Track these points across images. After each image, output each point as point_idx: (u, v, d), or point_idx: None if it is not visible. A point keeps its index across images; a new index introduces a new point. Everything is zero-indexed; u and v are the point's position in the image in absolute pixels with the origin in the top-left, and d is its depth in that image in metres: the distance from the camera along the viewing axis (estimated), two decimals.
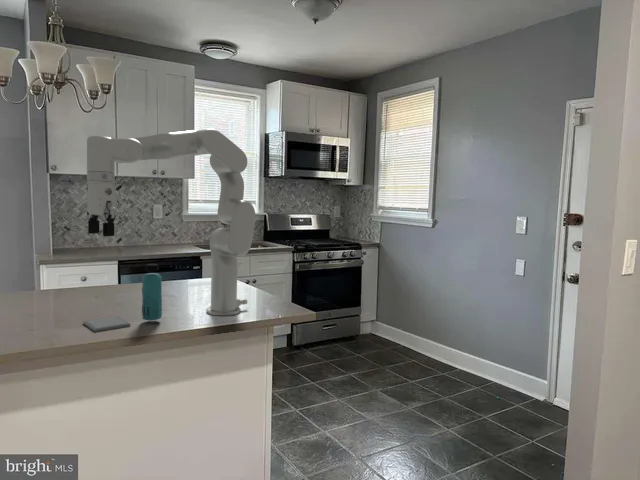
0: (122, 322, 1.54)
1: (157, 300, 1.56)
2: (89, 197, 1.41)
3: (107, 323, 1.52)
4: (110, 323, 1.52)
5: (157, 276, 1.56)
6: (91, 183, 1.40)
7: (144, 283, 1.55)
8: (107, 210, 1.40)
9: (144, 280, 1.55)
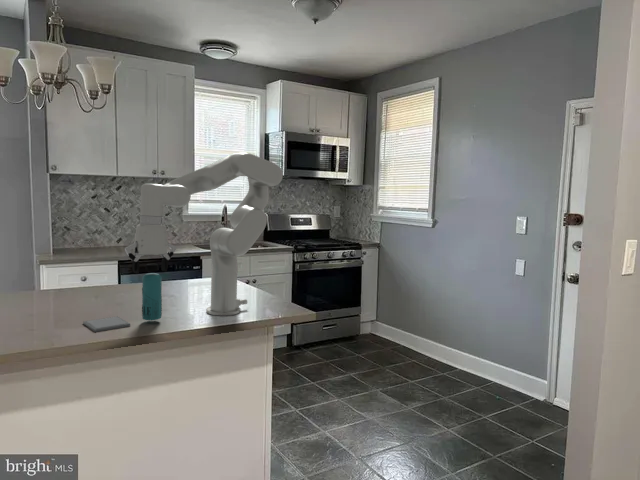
0: (122, 322, 1.54)
1: (157, 300, 1.56)
2: (147, 239, 1.52)
3: (107, 323, 1.52)
4: (110, 323, 1.52)
5: (157, 276, 1.56)
6: (153, 227, 1.53)
7: (144, 283, 1.55)
8: None
9: (144, 280, 1.55)
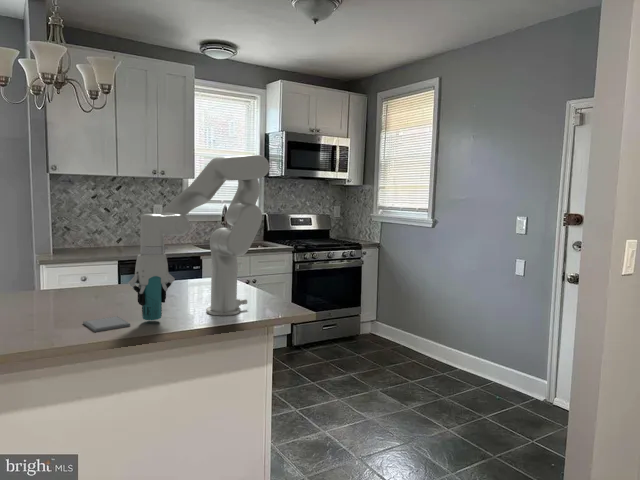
0: (122, 322, 1.54)
1: (157, 300, 1.56)
2: (148, 270, 1.54)
3: (107, 323, 1.52)
4: (110, 323, 1.52)
5: (157, 276, 1.56)
6: (153, 257, 1.54)
7: None
8: None
9: None
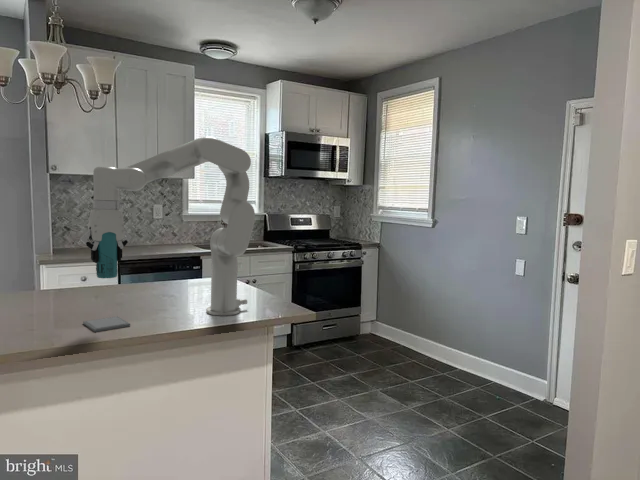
0: (122, 322, 1.54)
1: (112, 257, 1.49)
2: (101, 225, 1.47)
3: (107, 323, 1.52)
4: (110, 323, 1.52)
5: (111, 232, 1.49)
6: (107, 211, 1.47)
7: None
8: None
9: None
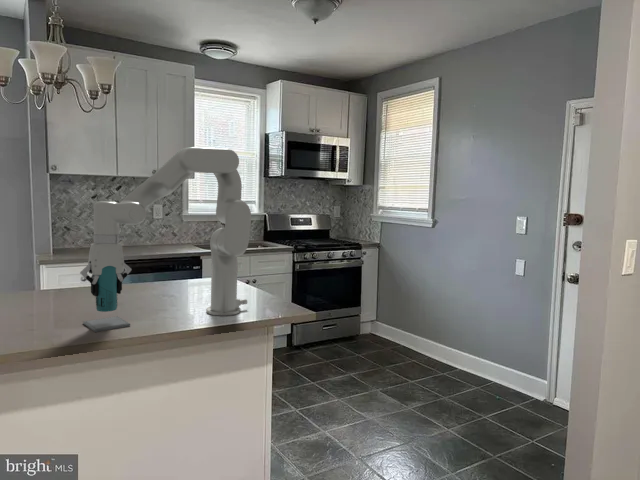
0: (122, 322, 1.54)
1: (111, 291, 1.51)
2: (101, 259, 1.48)
3: (107, 323, 1.52)
4: (110, 323, 1.52)
5: (111, 266, 1.50)
6: (107, 246, 1.49)
7: None
8: None
9: None
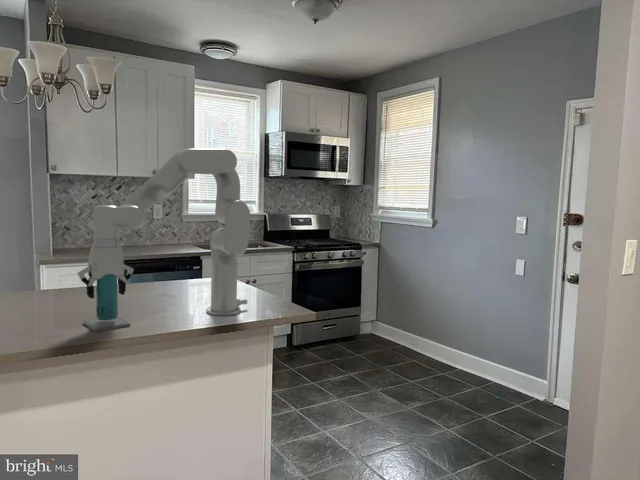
0: (122, 322, 1.54)
1: (112, 299, 1.51)
2: (101, 263, 1.48)
3: (107, 323, 1.52)
4: (110, 323, 1.52)
5: (112, 274, 1.51)
6: (107, 249, 1.49)
7: (98, 282, 1.49)
8: None
9: None
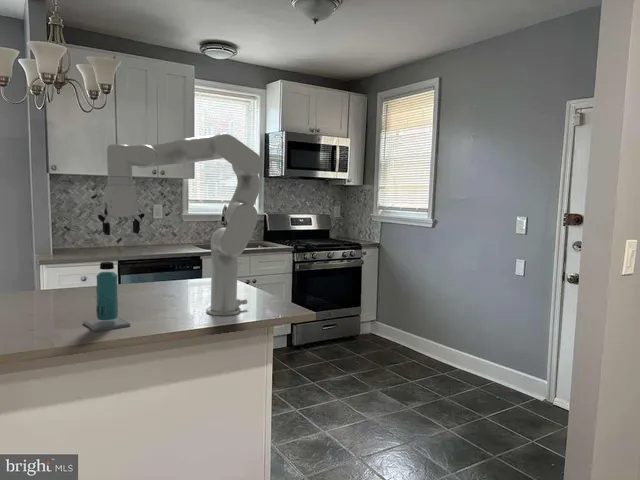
0: (122, 322, 1.54)
1: (112, 299, 1.51)
2: (116, 200, 1.52)
3: (107, 323, 1.52)
4: (110, 323, 1.52)
5: (112, 274, 1.51)
6: (121, 187, 1.53)
7: (98, 282, 1.49)
8: None
9: (98, 279, 1.49)
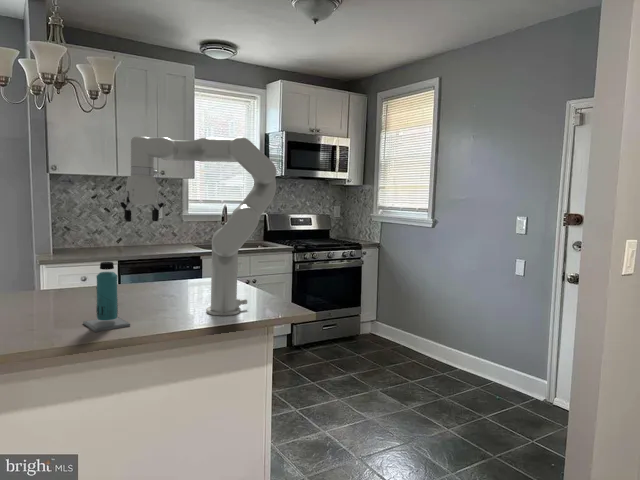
0: (122, 322, 1.54)
1: (112, 299, 1.51)
2: (138, 189, 1.62)
3: (107, 323, 1.52)
4: (110, 323, 1.52)
5: (112, 274, 1.51)
6: (143, 177, 1.62)
7: (98, 282, 1.49)
8: None
9: (98, 279, 1.49)
